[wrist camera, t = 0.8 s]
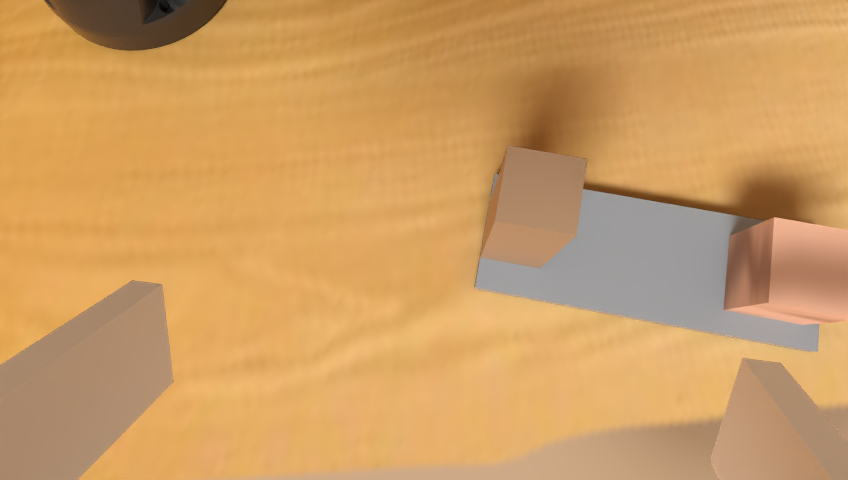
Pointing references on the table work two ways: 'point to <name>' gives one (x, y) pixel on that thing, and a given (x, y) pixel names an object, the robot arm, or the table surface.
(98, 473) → the table surface
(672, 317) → the strip
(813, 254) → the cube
